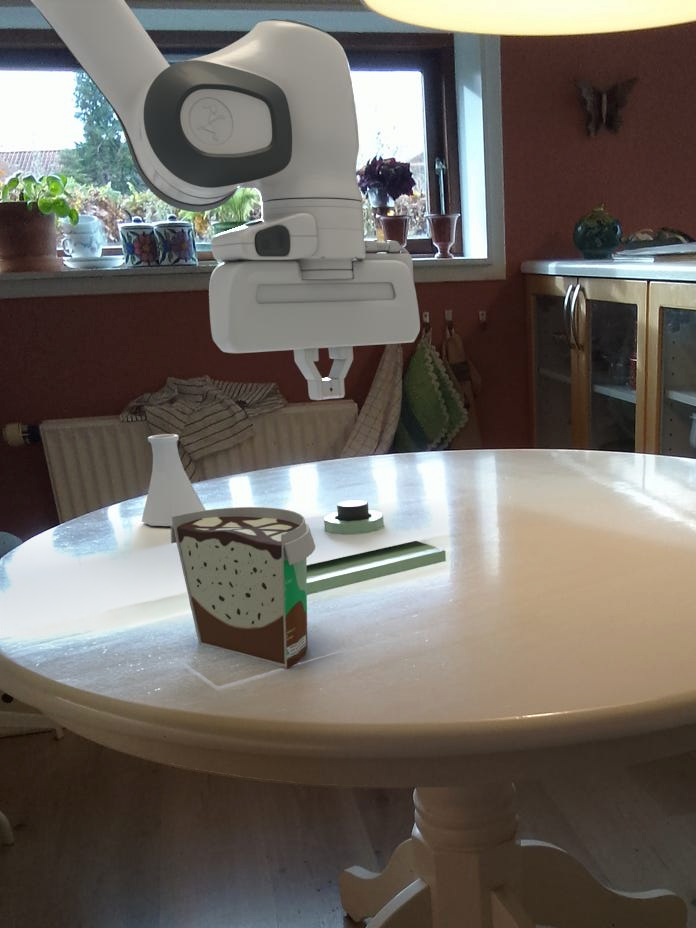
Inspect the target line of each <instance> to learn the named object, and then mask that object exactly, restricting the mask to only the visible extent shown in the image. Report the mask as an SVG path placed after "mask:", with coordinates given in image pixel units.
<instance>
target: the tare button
mask: <svg viewBox="0 0 696 928" xmlns="http://www.w3.org/2000/svg"><path fill="white" fill-rule="evenodd" d="M369 510H370V509H369V502H368V501H366V500H361V499H352V500H351V499H349V500H344V501H339V502H338V503H336V512H338V520H340V521H359V520H364V519H368V518H369Z"/></svg>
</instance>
